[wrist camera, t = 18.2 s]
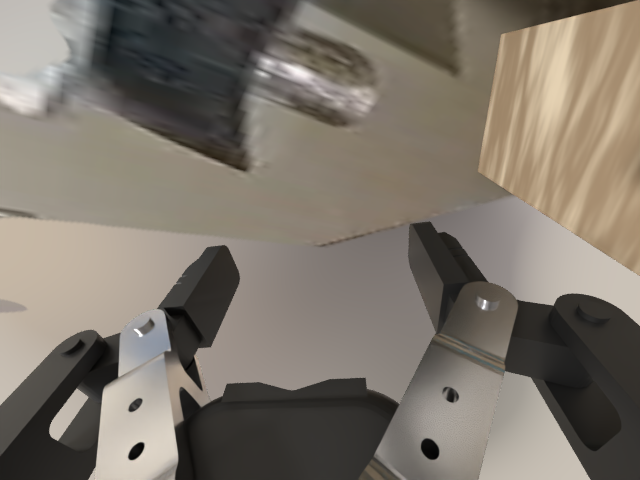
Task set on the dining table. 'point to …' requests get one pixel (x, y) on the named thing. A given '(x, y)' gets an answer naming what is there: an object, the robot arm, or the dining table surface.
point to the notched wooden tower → (572, 125)
